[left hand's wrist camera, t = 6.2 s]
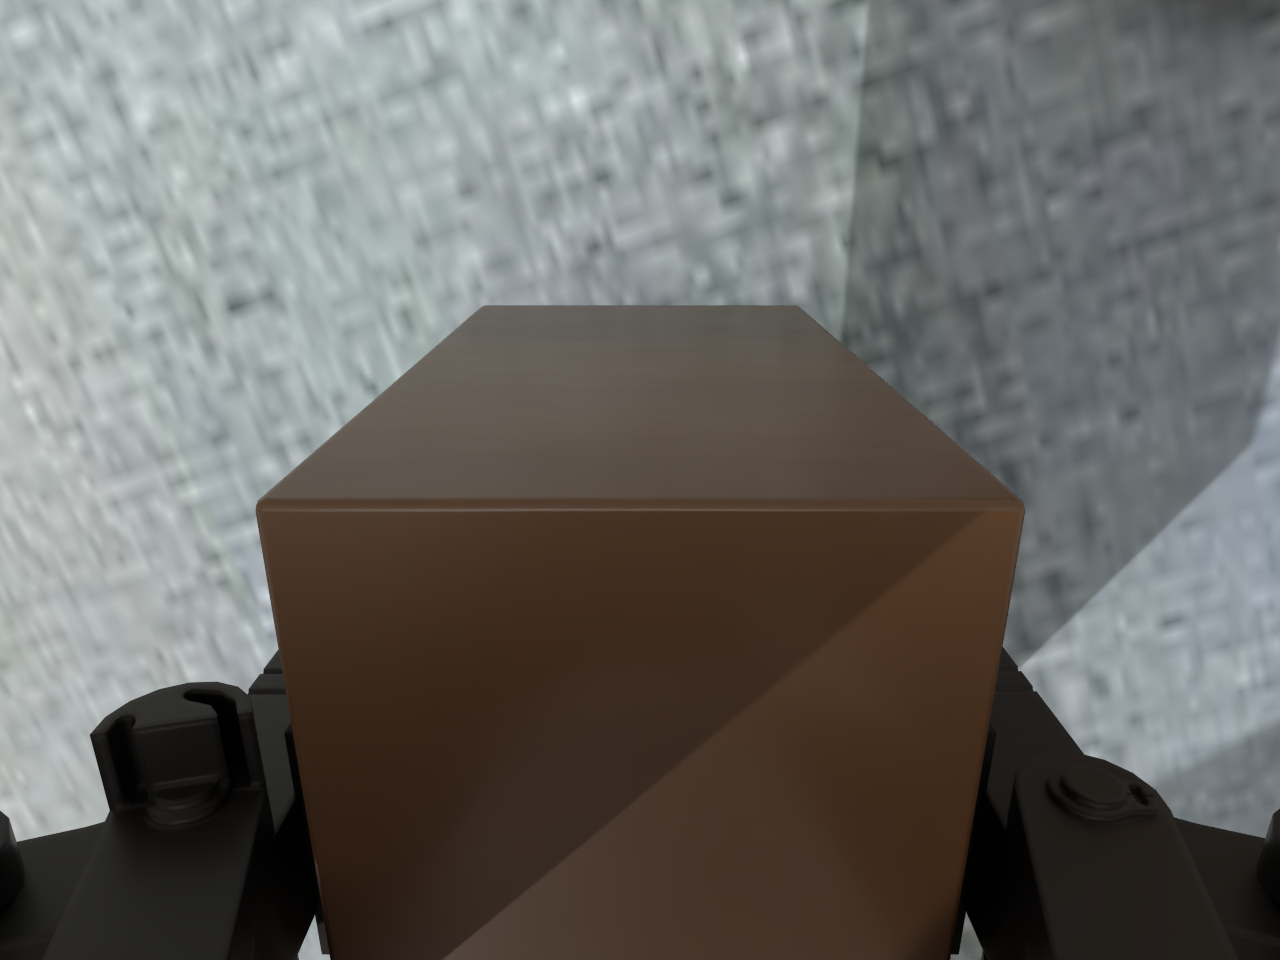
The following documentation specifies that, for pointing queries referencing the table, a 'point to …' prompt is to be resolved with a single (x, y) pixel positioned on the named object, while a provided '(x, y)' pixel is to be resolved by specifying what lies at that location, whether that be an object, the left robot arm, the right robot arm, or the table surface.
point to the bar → (640, 646)
